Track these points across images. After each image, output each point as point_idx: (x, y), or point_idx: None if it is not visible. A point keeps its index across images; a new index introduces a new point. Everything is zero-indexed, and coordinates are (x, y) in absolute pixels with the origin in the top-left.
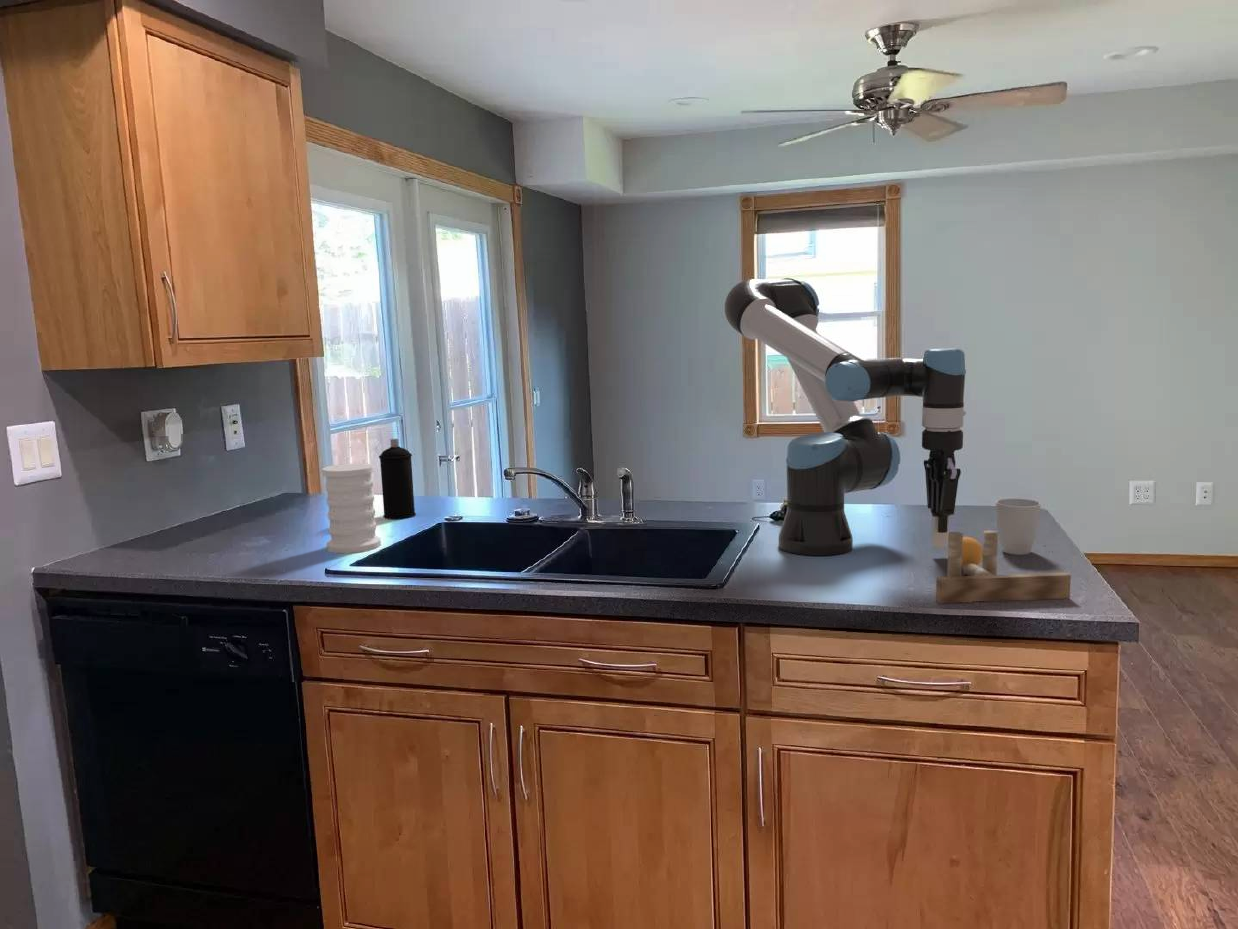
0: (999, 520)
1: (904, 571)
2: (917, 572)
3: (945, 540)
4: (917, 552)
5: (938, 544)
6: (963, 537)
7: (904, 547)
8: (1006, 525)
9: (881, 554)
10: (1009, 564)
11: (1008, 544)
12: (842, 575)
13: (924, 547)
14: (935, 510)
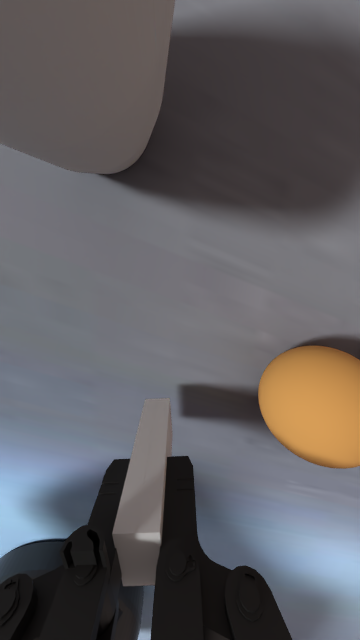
0: (46, 135)
1: (280, 496)
2: (294, 476)
3: (169, 424)
4: (112, 433)
5: (171, 433)
6: (355, 457)
7: (59, 447)
8: (121, 116)
9: None
10: (276, 227)
11: (135, 154)
12: (280, 582)
13: (56, 403)
14: (114, 614)
